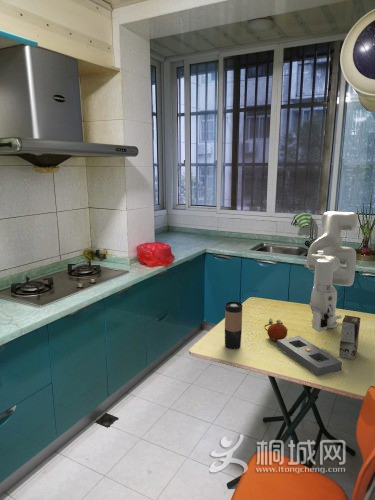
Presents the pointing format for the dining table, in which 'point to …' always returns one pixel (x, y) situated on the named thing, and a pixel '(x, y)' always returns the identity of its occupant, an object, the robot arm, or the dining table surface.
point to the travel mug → (233, 325)
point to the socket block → (309, 355)
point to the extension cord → (276, 321)
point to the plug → (317, 320)
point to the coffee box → (349, 337)
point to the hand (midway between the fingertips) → (319, 324)
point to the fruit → (277, 331)
